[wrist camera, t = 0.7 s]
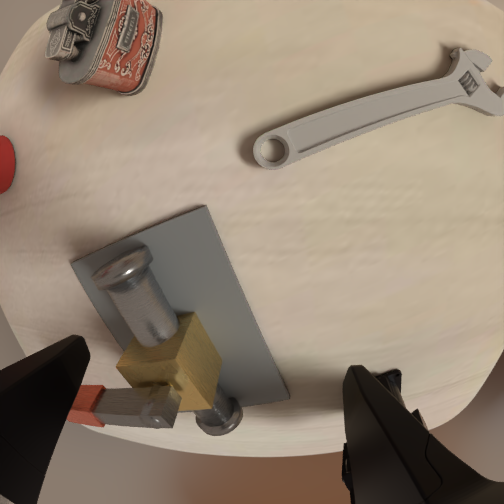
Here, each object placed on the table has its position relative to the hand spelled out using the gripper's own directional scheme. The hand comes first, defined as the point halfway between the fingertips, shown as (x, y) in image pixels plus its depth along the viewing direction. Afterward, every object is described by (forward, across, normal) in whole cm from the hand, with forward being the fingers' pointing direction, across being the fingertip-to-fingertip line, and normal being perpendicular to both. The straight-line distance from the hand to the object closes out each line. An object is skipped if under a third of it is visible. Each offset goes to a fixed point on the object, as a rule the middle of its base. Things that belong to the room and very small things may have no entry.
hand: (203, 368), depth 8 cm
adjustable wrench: (+14, -12, -12) cm, 22 cm away
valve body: (+14, +6, +11) cm, 19 cm away
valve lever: (+7, +11, +13) cm, 18 cm away
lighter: (+14, +8, -15) cm, 22 cm away
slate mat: (+14, +6, +11) cm, 19 cm away
